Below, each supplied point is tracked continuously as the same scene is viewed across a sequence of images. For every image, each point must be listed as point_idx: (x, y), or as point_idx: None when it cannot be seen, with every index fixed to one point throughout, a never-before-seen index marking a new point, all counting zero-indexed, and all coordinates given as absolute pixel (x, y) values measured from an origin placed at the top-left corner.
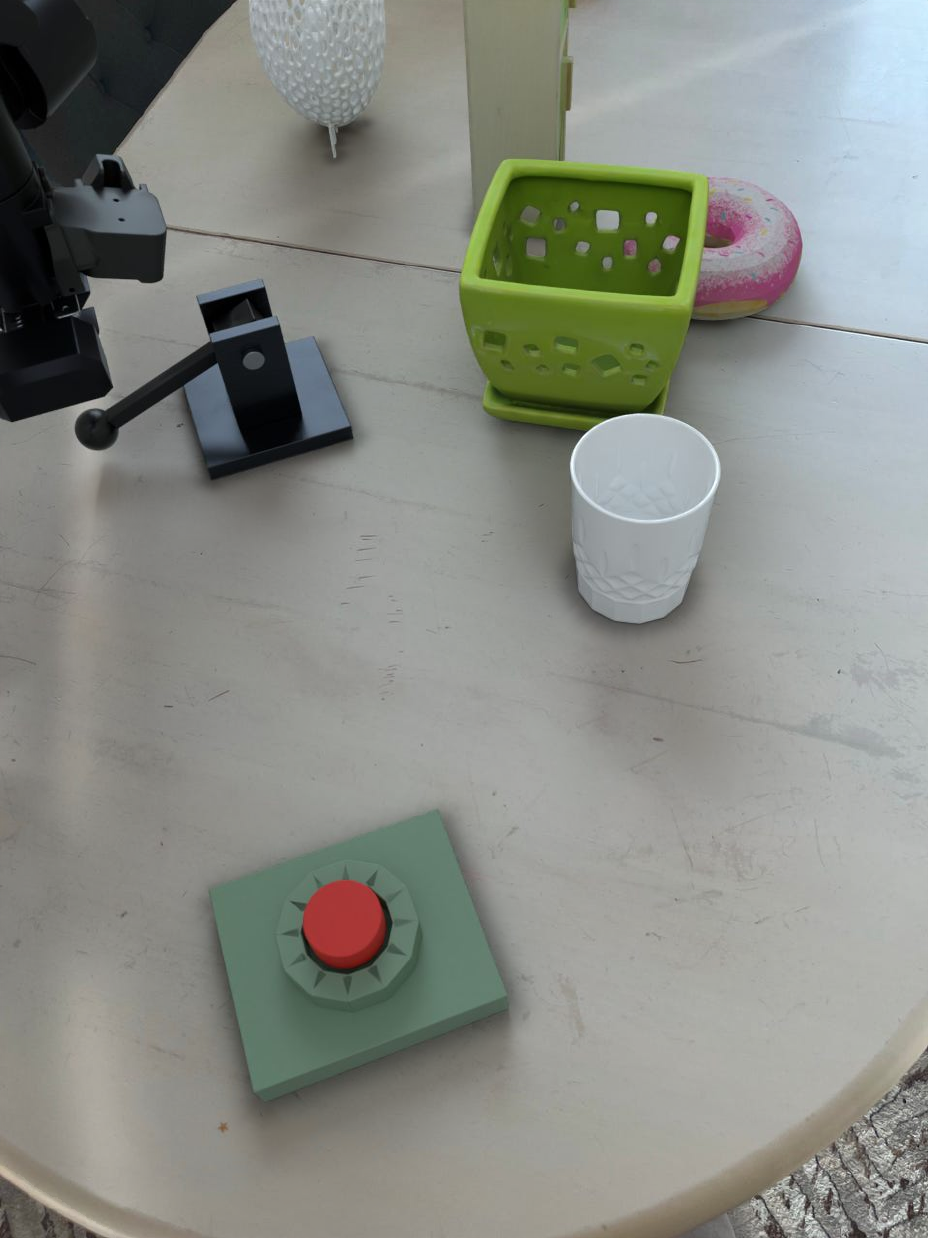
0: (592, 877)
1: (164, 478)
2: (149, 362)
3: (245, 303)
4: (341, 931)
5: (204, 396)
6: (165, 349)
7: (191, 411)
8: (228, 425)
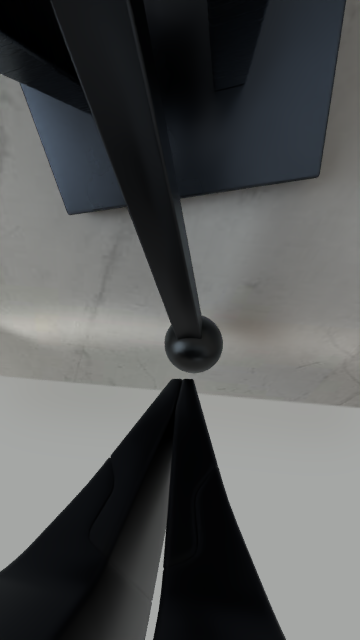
0: None
1: (265, 254)
2: (38, 257)
3: None
4: None
5: None
6: (11, 233)
7: None
8: (218, 116)
